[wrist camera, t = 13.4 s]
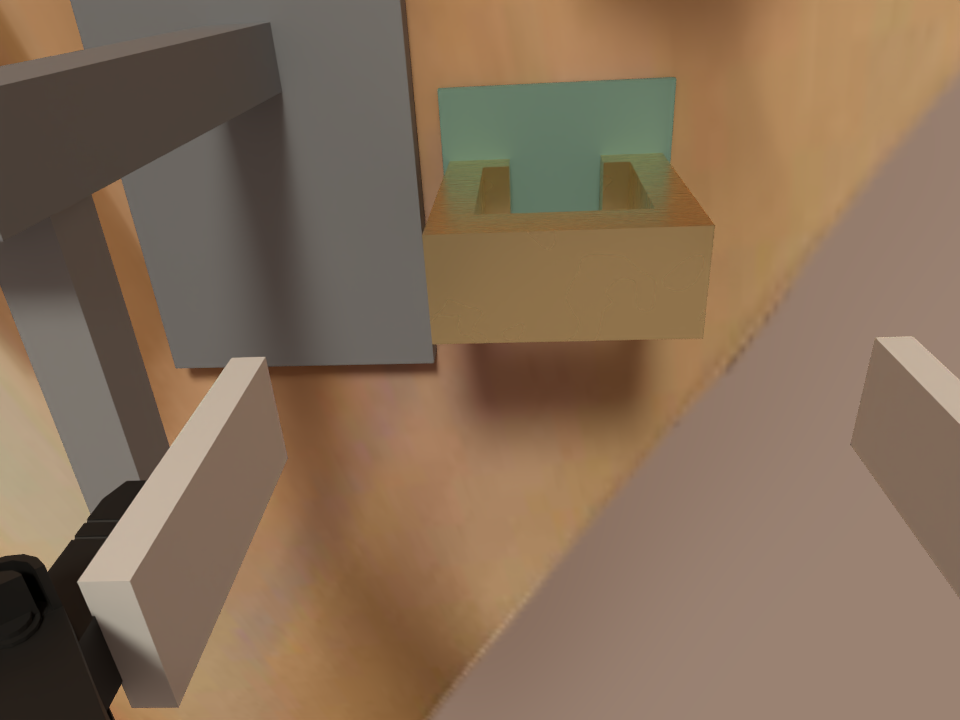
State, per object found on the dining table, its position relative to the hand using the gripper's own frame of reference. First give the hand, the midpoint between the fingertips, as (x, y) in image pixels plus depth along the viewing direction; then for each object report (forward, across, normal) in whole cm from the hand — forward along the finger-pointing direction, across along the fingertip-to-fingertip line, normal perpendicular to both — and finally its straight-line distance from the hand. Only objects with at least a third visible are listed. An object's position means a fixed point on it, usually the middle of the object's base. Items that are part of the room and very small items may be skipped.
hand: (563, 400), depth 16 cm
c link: (+16, +1, 0) cm, 16 cm away
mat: (+16, +1, 0) cm, 16 cm away
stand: (+16, -11, +1) cm, 19 cm away
